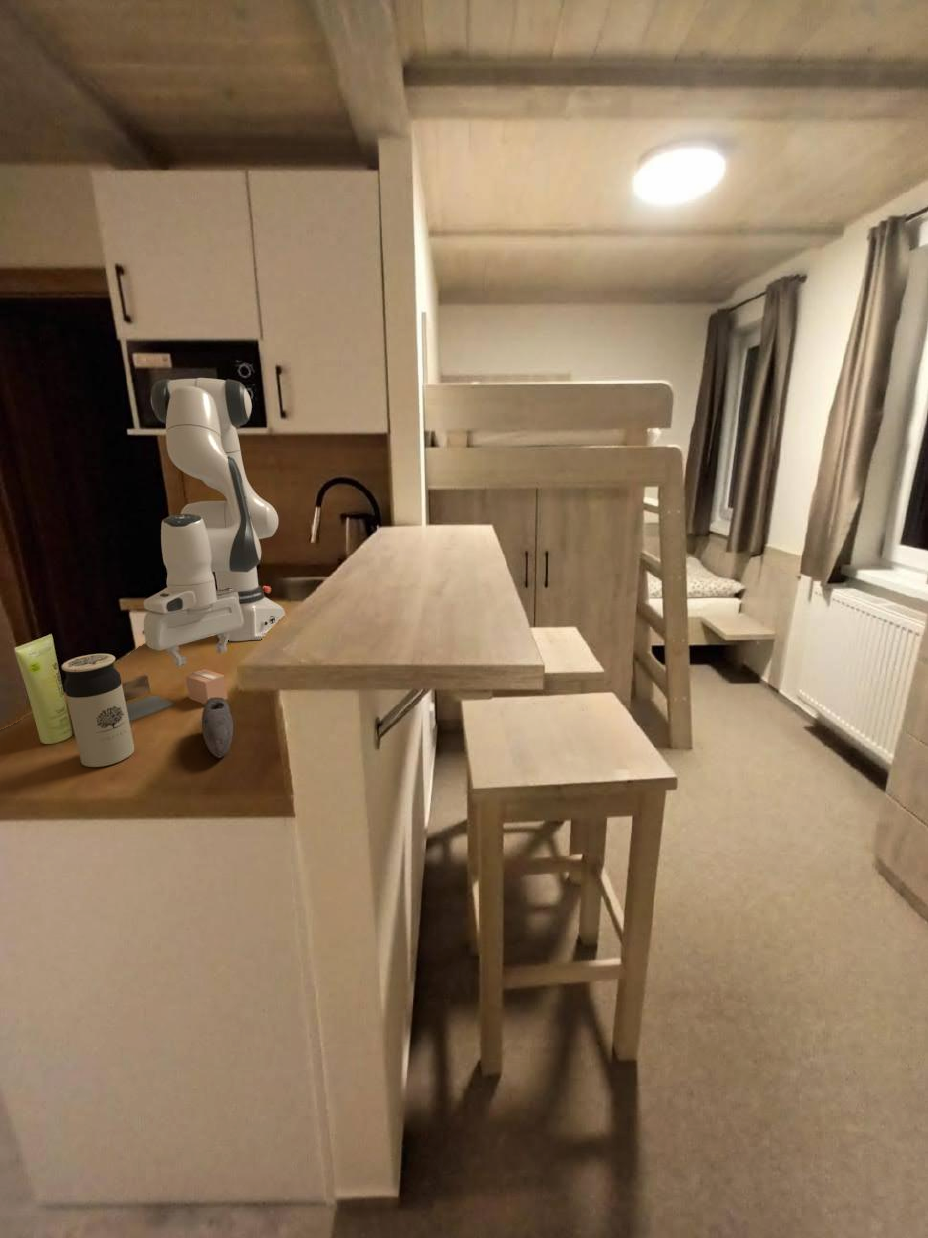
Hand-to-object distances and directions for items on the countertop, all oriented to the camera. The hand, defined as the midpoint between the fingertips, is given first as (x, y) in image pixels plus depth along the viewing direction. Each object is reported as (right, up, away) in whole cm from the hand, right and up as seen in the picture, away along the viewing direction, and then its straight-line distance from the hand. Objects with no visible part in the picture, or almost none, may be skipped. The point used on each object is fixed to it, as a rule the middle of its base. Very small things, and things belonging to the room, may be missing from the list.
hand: (201, 658), depth 116 cm
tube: (-21, -14, -14) cm, 29 cm away
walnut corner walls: (-14, -11, -3) cm, 18 cm away
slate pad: (-12, -11, -2) cm, 16 cm away
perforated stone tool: (+11, -15, -16) cm, 25 cm away
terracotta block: (0, -9, +3) cm, 10 cm away
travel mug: (-7, -16, -20) cm, 26 cm away
